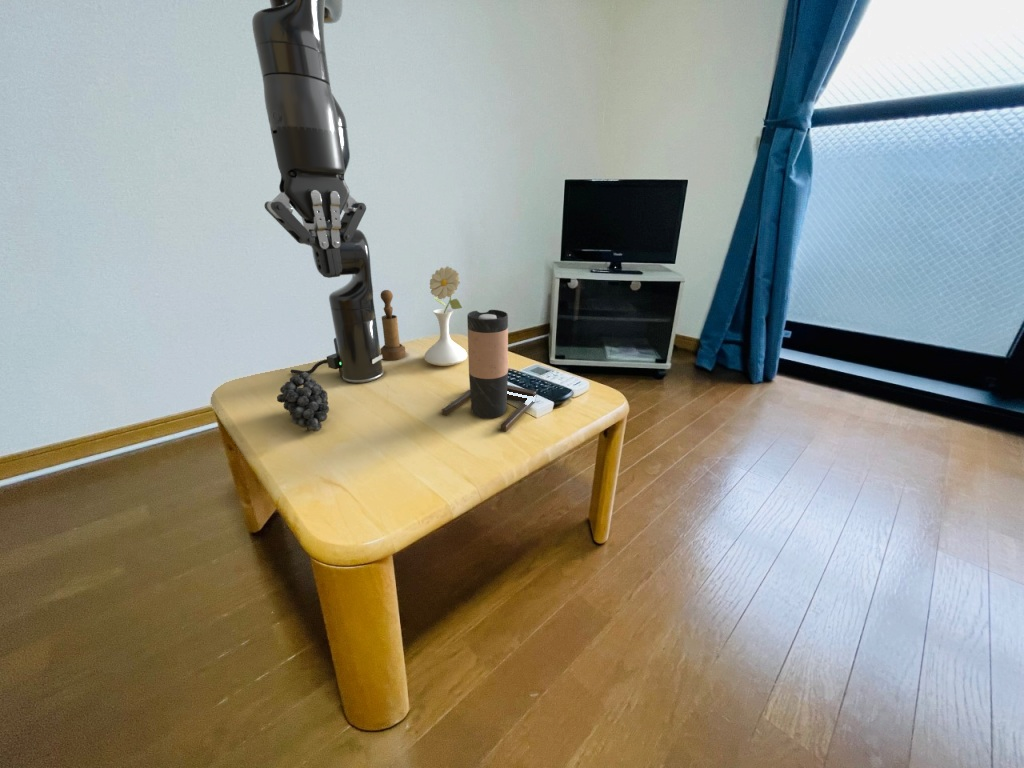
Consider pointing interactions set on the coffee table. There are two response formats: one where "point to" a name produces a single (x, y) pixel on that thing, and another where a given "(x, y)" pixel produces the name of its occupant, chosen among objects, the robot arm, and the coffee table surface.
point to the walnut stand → (520, 410)
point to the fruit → (305, 401)
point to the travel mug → (488, 362)
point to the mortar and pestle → (390, 331)
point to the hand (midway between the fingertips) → (331, 276)
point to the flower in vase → (445, 319)
